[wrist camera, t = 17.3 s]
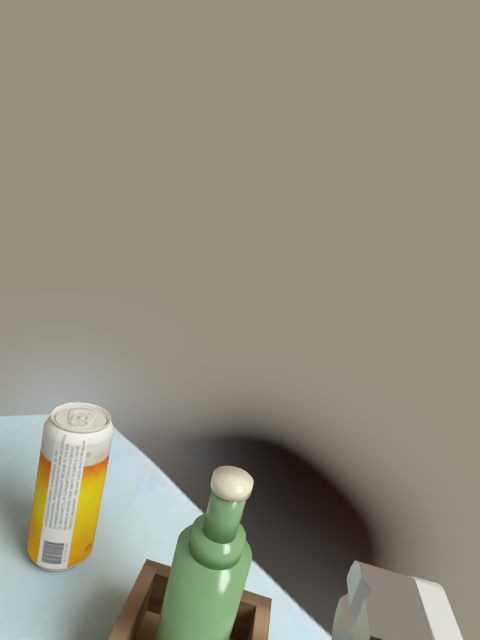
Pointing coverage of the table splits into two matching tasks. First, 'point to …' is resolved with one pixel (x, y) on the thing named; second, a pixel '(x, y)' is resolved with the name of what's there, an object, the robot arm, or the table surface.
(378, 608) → the robot arm
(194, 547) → the bottle
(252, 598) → the tray
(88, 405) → the beer can
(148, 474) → the table surface
